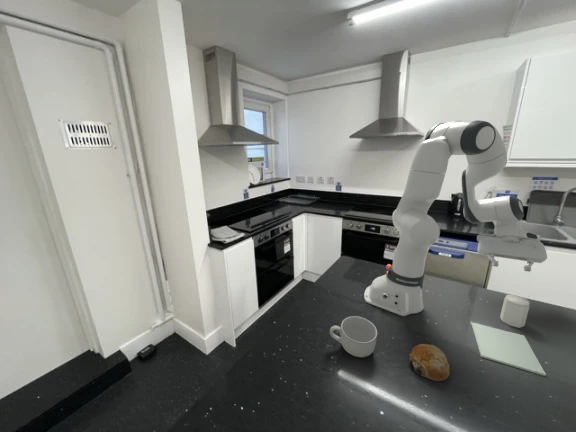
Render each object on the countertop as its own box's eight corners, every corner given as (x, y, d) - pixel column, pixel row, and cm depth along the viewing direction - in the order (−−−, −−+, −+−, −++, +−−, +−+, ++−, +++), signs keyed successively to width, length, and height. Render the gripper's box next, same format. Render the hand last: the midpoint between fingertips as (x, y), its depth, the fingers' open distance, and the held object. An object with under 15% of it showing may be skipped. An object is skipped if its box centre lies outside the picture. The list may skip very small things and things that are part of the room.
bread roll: (445, 395, 64) (464, 376, 62) (410, 376, 65) (427, 356, 62) (432, 364, 74) (448, 346, 71) (401, 348, 74) (416, 330, 72)
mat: (481, 356, 72) (481, 355, 71) (471, 323, 85) (471, 322, 85) (545, 376, 65) (545, 374, 65) (523, 337, 79) (524, 335, 79)
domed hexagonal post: (503, 324, 85) (508, 301, 83) (498, 314, 90) (503, 292, 88) (526, 329, 82) (532, 306, 80) (519, 318, 87) (525, 297, 85)
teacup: (375, 340, 78) (377, 319, 76) (375, 368, 68) (377, 344, 66) (332, 331, 83) (333, 311, 81) (327, 355, 73) (327, 333, 71)
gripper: (479, 229, 100) (479, 260, 94) (546, 236, 90) (551, 271, 85) (474, 236, 105) (475, 265, 99) (538, 243, 95) (543, 276, 89)
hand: (511, 268), depth 92 cm, fingers open, 8 cm apart
